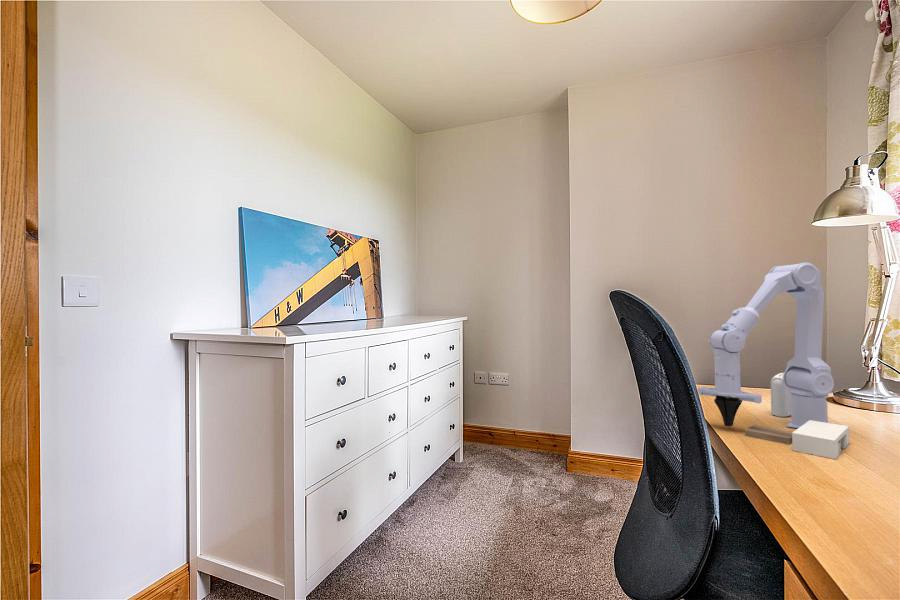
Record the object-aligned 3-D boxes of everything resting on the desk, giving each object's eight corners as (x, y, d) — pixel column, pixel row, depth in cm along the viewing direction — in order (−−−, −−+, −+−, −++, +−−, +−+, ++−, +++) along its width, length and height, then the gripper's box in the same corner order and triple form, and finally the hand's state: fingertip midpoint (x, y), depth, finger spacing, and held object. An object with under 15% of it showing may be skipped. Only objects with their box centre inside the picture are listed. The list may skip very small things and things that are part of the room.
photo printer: (782, 410, 130) (781, 370, 130) (799, 413, 126) (798, 372, 126) (769, 415, 124) (767, 373, 124) (786, 418, 120) (785, 375, 121)
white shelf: (810, 436, 104) (809, 420, 104) (849, 443, 99) (849, 426, 99) (792, 450, 94) (791, 432, 94) (835, 459, 89) (834, 440, 89)
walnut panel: (754, 432, 110) (754, 424, 110) (797, 440, 103) (797, 432, 103) (745, 437, 105) (744, 429, 106) (789, 446, 98) (789, 438, 98)
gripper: (692, 373, 115) (693, 422, 115) (754, 379, 103) (756, 434, 103) (702, 370, 119) (703, 418, 119) (763, 376, 108) (765, 429, 108)
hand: (728, 425), depth 111 cm, fingers closed
